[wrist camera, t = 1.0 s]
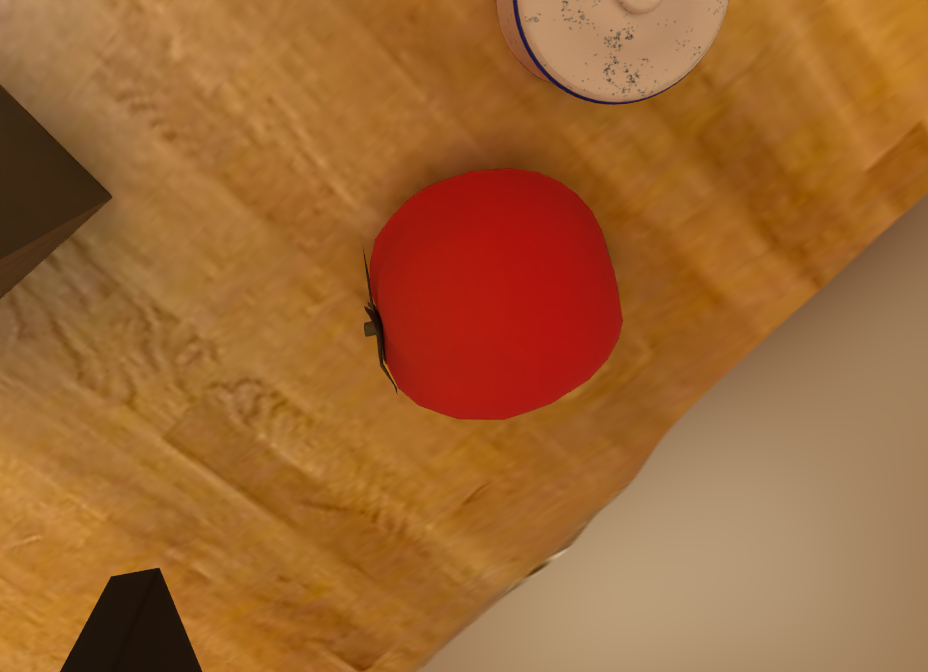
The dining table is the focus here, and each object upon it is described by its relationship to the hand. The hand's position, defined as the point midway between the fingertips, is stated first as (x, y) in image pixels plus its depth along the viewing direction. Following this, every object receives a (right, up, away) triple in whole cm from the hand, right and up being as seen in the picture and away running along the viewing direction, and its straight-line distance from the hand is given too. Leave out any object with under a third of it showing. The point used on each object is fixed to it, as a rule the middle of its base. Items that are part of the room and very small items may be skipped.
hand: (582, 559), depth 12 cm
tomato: (-1, +8, +32) cm, 33 cm away
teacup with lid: (+5, +22, +27) cm, 35 cm away
